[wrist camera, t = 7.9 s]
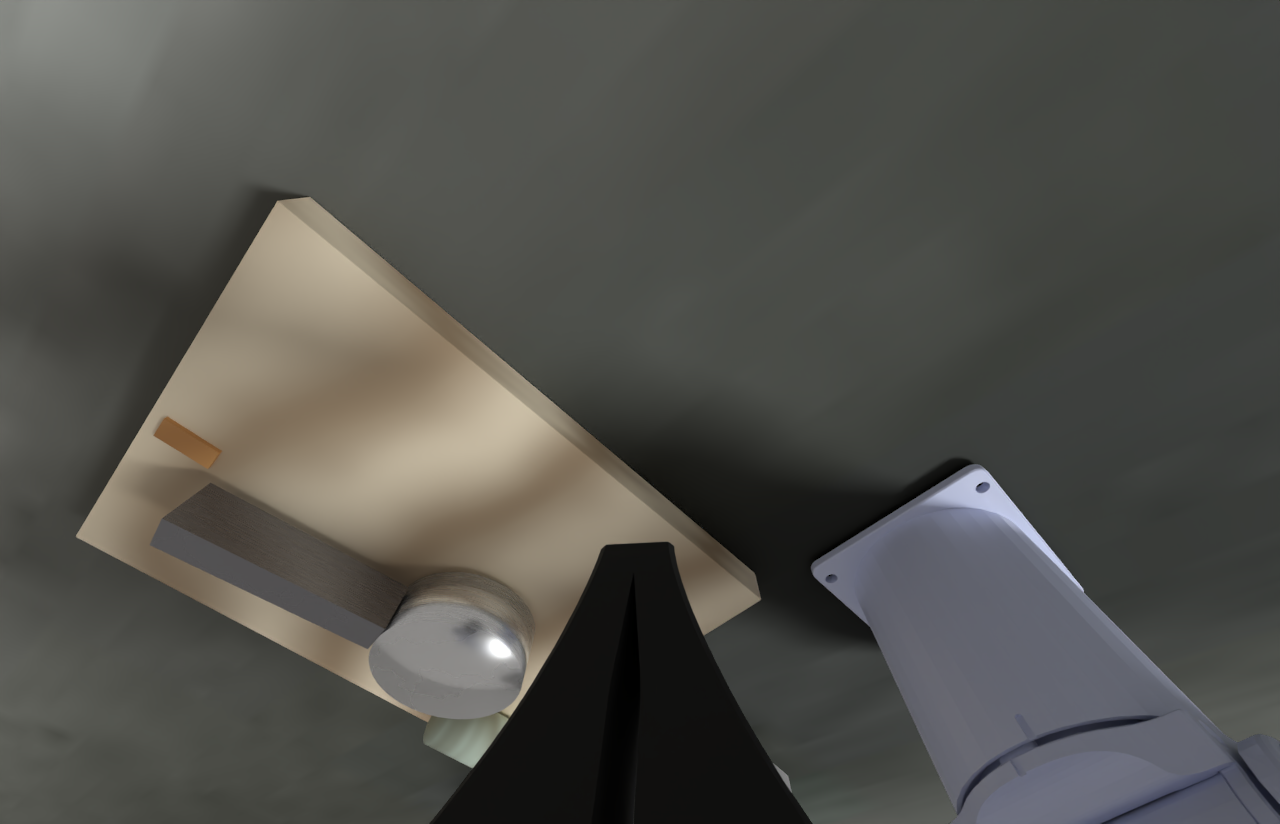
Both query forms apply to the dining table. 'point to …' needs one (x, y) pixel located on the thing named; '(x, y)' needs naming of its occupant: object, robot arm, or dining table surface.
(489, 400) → the oak board
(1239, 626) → the dining table surface
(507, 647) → the grey spoon
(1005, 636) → the robot arm
